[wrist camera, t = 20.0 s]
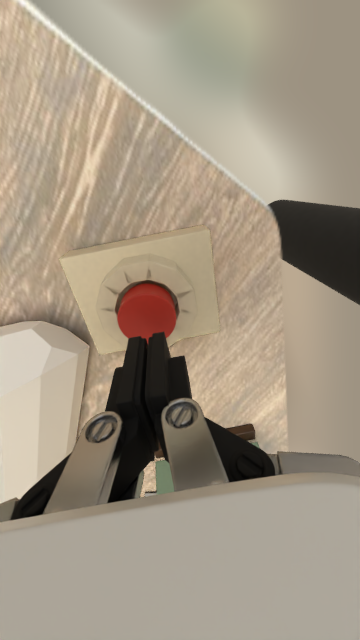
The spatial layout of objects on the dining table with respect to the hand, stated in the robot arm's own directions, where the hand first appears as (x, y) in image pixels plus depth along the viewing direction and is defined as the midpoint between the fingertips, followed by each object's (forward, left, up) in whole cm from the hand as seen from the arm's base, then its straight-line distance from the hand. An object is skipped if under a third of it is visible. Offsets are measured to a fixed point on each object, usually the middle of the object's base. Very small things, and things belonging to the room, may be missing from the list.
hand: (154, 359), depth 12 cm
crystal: (+14, +11, -9) cm, 20 cm away
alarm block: (0, 0, -9) cm, 9 cm away
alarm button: (0, 0, -6) cm, 6 cm away
